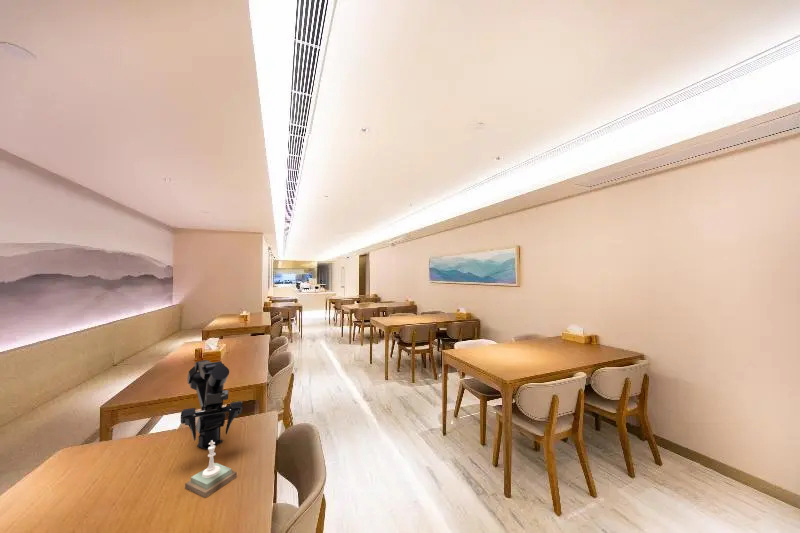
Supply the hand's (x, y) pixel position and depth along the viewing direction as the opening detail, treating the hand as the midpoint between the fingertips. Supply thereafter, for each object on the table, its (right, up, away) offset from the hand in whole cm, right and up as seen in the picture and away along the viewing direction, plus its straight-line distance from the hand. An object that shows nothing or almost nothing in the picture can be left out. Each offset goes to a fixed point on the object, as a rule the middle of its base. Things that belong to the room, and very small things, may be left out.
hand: (210, 437), depth 100 cm
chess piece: (+5, -8, -7) cm, 11 cm away
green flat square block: (+5, -10, -7) cm, 14 cm away
